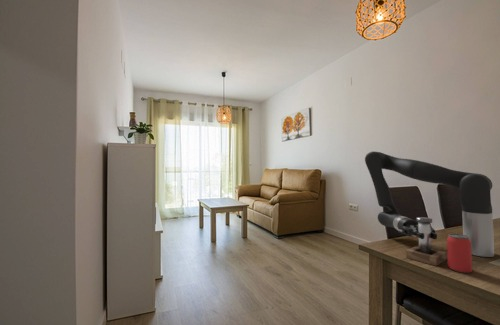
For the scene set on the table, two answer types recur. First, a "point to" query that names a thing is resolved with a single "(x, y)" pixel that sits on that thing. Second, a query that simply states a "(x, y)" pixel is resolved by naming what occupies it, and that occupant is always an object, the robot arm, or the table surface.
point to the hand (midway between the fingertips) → (429, 236)
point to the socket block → (426, 256)
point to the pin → (426, 230)
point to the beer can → (459, 253)
